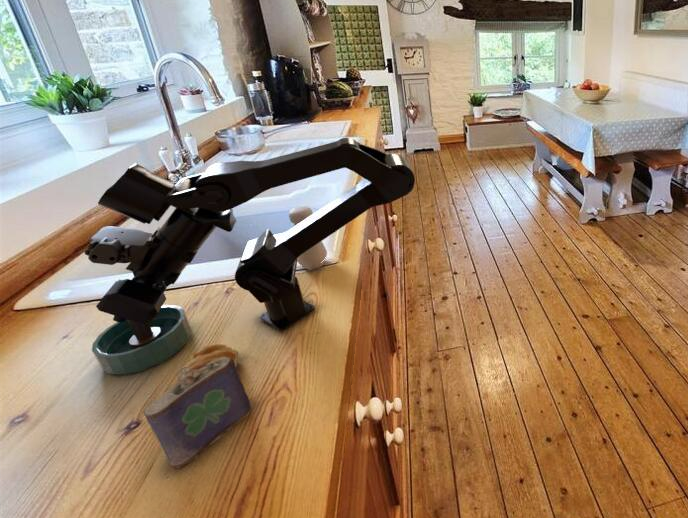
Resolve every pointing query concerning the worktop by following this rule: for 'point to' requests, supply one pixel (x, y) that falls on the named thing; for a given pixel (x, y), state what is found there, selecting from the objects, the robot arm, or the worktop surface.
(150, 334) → the brown wooden peg
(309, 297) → the worktop surface
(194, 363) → the pastry
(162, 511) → the worktop surface
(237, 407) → the flask
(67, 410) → the worktop surface
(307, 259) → the salt shaker
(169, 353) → the bowl
